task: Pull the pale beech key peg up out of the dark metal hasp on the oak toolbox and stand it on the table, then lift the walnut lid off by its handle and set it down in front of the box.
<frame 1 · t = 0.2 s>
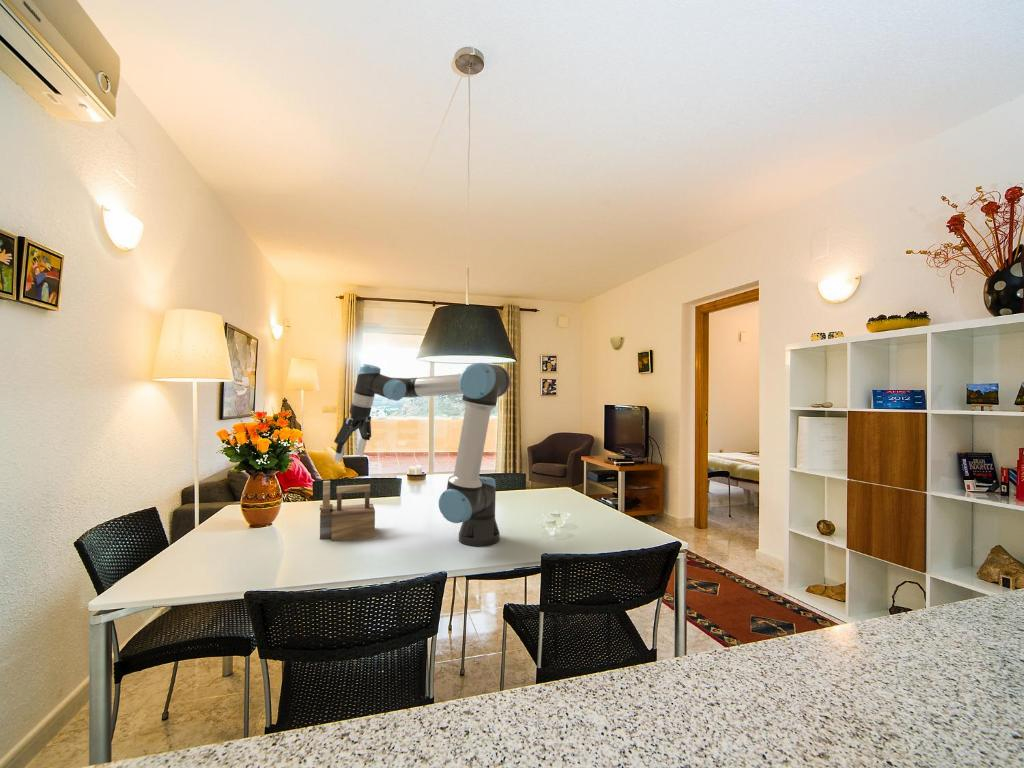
hand: (349, 458, 179), 28 cm above the table, fingers open, 13 cm apart
toolbox: (352, 533, 177), on the table
lid: (353, 512, 177), point 8 cm above the table, touching toolbox
key peg: (326, 525, 173), point 4 cm above the table, touching toolbox
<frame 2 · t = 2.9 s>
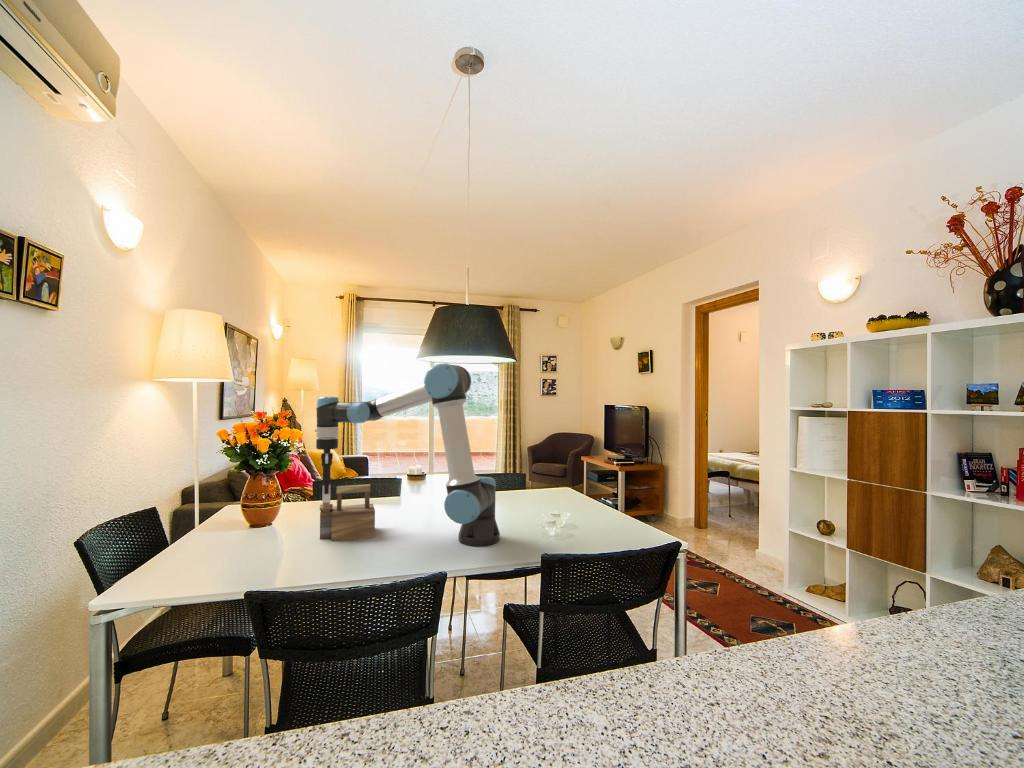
hand: (326, 501, 173), 13 cm above the table, fingers closed on key peg, 2 cm apart
key peg: (326, 525, 173), point 4 cm above the table, touching gripper, toolbox
everything else where it was.
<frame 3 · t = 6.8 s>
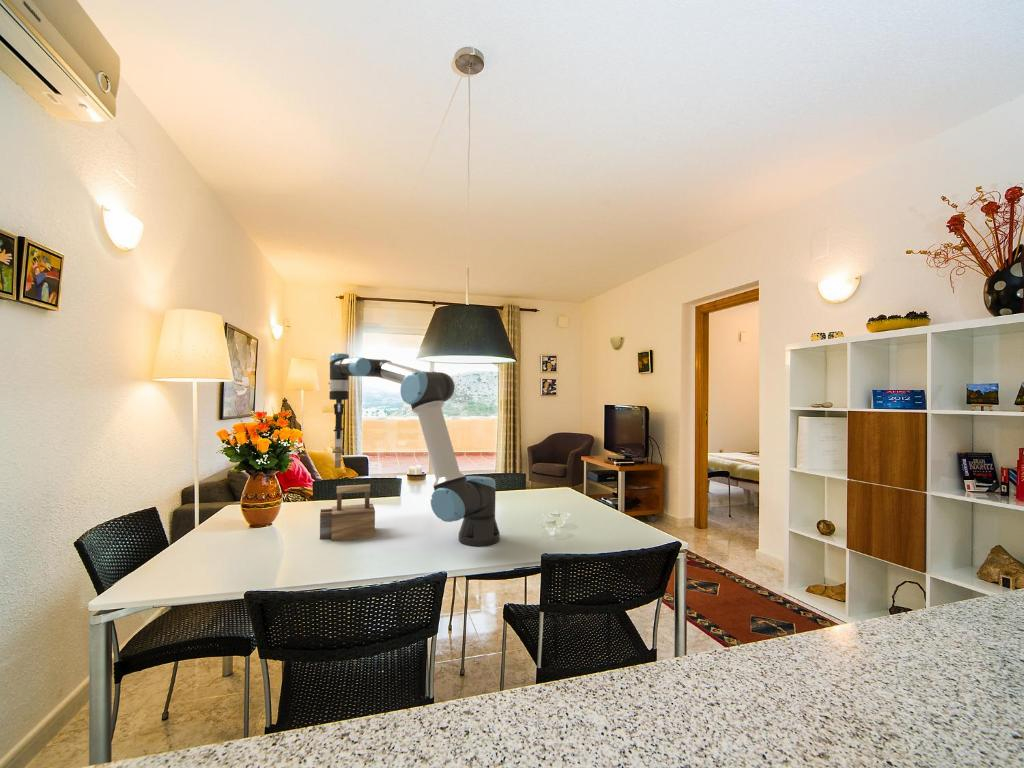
hand: (338, 446, 196), 31 cm above the table, fingers closed on key peg, 2 cm apart
key peg: (337, 467, 196), point 22 cm above the table, touching gripper
everything else where it was.
when the fingers open (10 cm above the table, at t = 11.0 s): key peg stays where it is, on the table.
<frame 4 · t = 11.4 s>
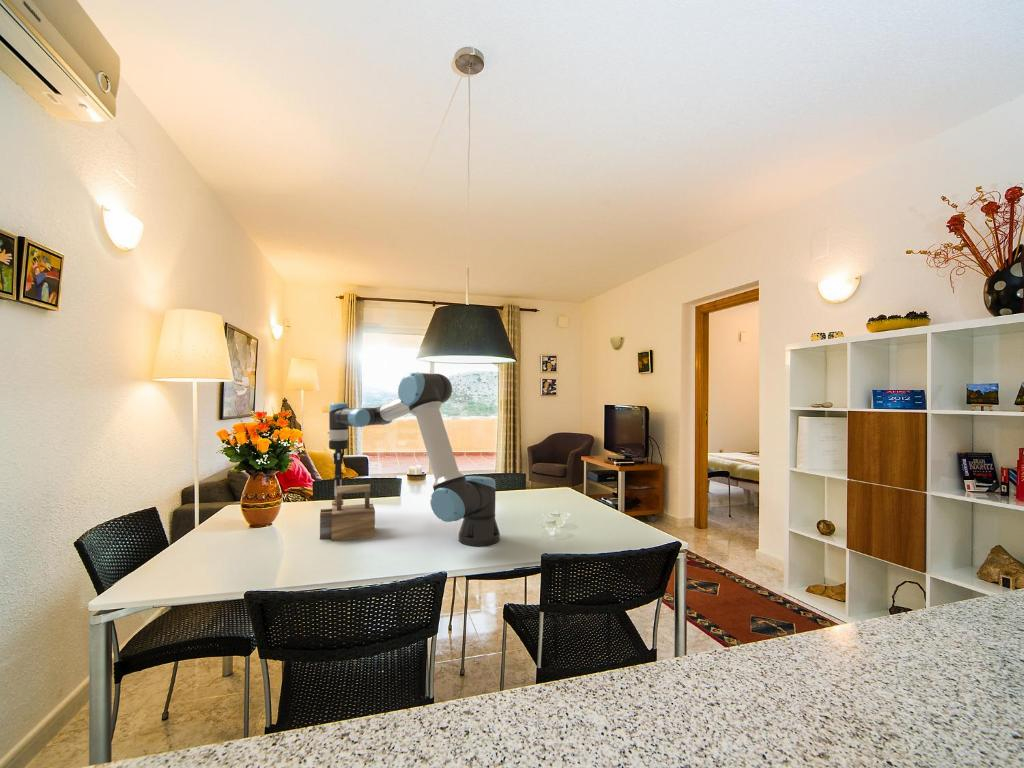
hand: (337, 493, 196), 11 cm above the table, fingers open, 9 cm apart
key peg: (337, 519, 196), on the table
everything else where it was.
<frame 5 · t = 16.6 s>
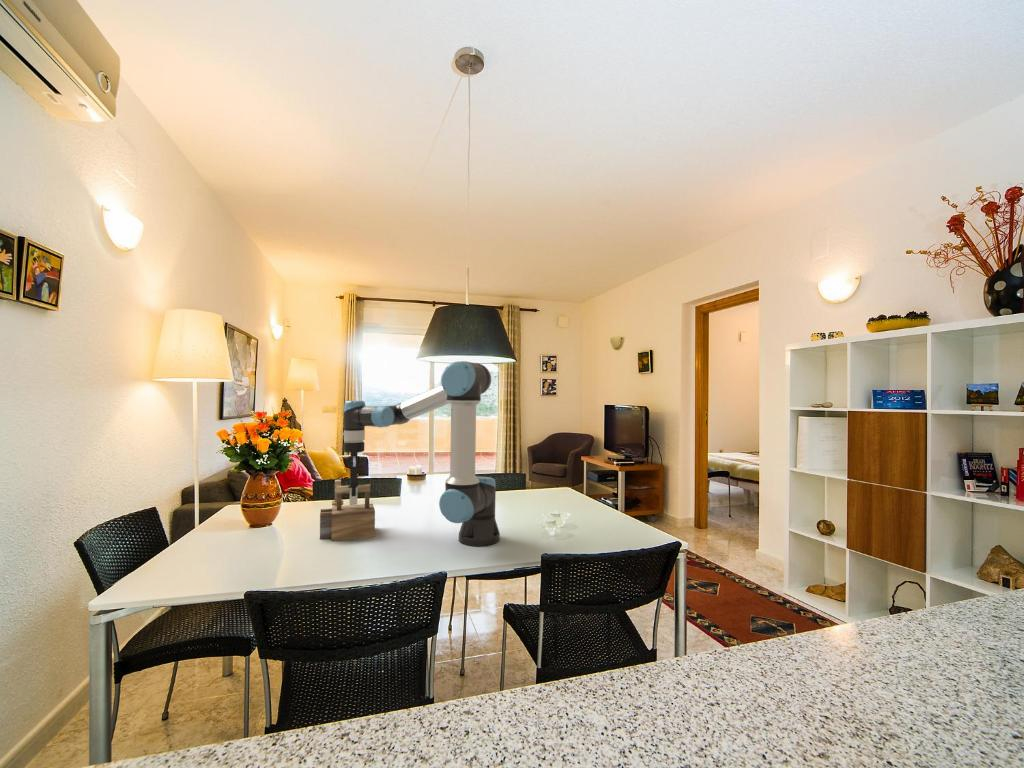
hand: (353, 503, 177), 11 cm above the table, fingers closed on lid, 2 cm apart
lid: (353, 512, 177), point 8 cm above the table, touching gripper, toolbox
everything else where it was.
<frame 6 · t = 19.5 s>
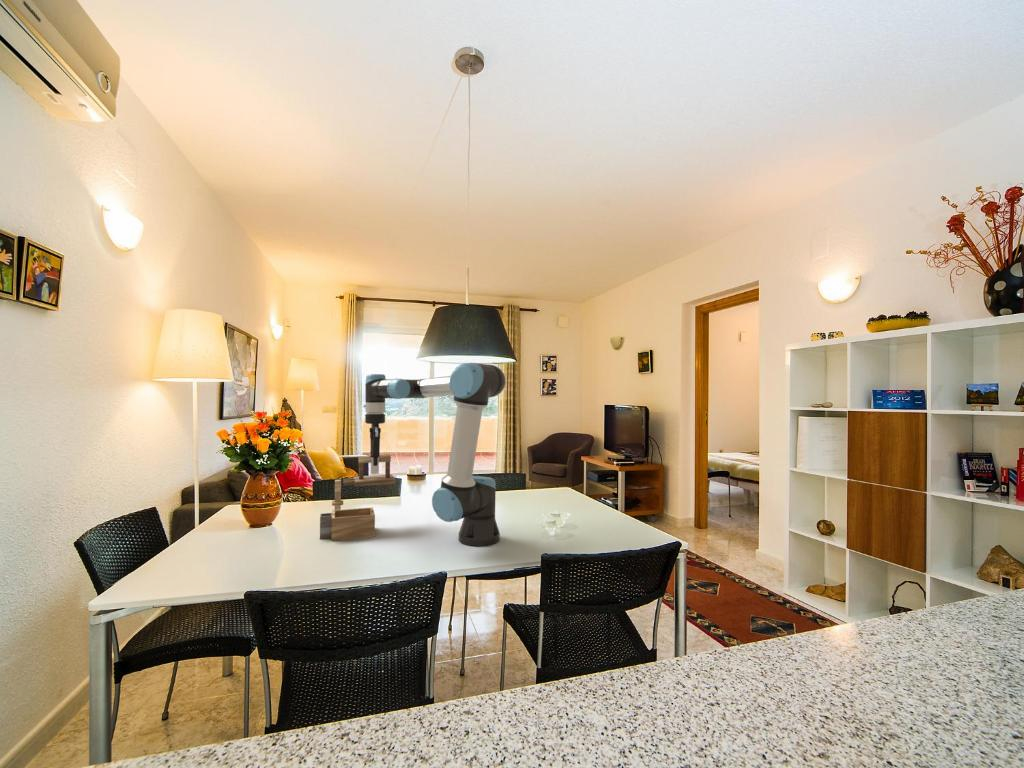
hand: (374, 473, 184), 22 cm above the table, fingers closed on lid, 2 cm apart
lid: (374, 481, 184), point 18 cm above the table, touching gripper
everything else where it was.
when the fingers open (5 cm above the table, at t = 22.5 s): lid drops 2 cm, on the table.
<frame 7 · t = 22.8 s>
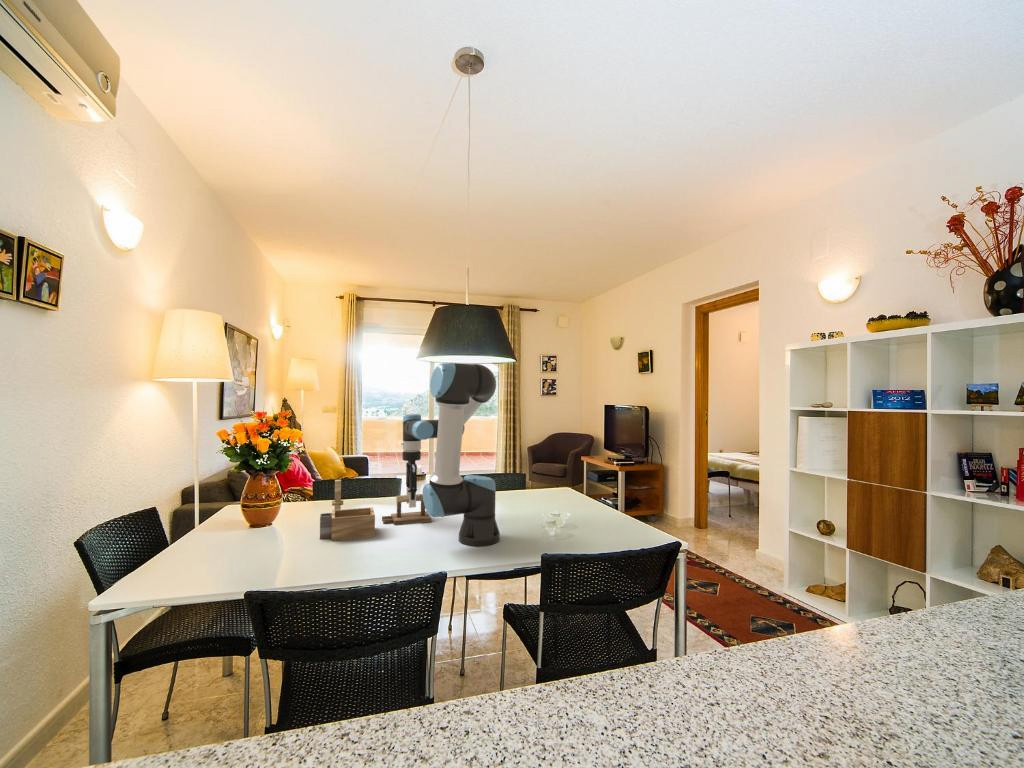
hand: (411, 505, 197), 6 cm above the table, fingers open, 7 cm apart
lid: (410, 519, 197), on the table
everything else where it was.
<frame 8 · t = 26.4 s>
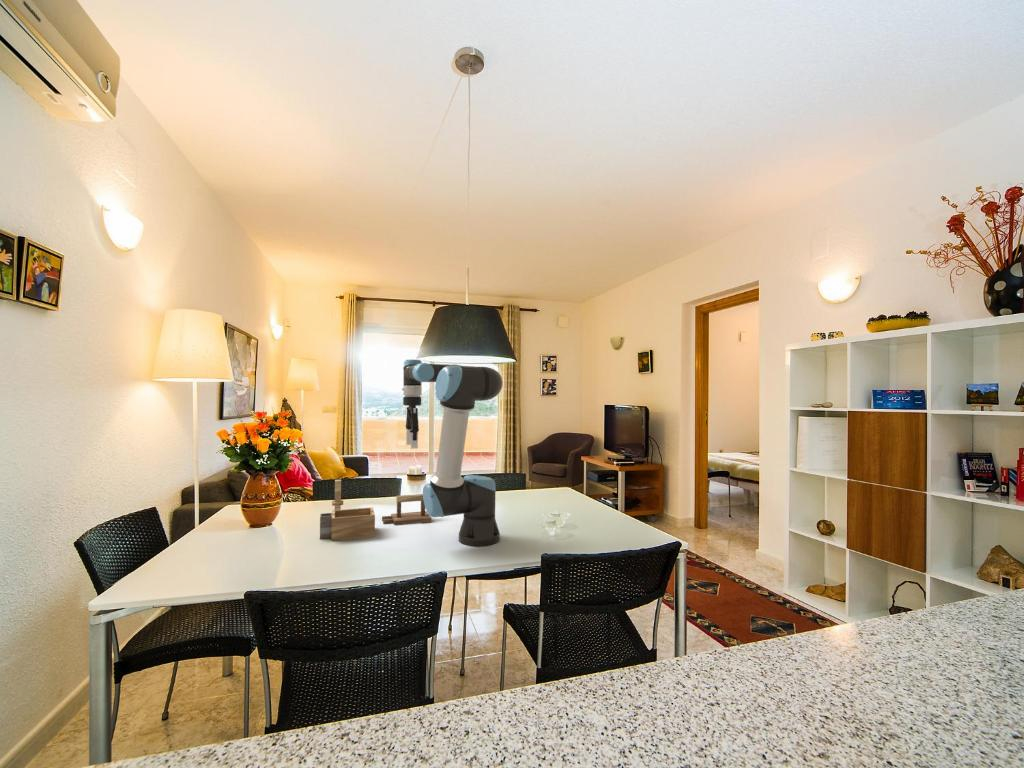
hand: (411, 446, 197), 31 cm above the table, fingers open, 13 cm apart
nothing on the table moved.
at the end: key peg moved 23.7 cm from its start; lid inside the target area (0.0 cm from its centre), on the table; lid touching table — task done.
